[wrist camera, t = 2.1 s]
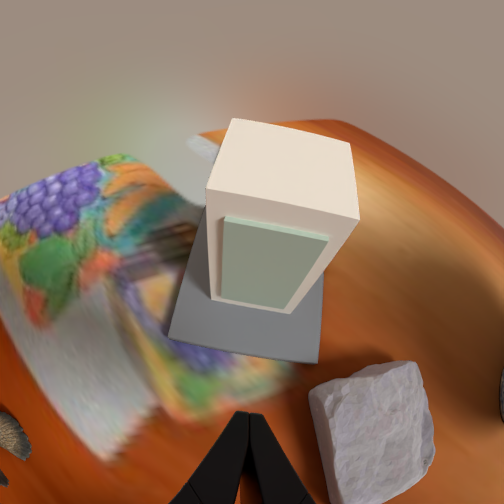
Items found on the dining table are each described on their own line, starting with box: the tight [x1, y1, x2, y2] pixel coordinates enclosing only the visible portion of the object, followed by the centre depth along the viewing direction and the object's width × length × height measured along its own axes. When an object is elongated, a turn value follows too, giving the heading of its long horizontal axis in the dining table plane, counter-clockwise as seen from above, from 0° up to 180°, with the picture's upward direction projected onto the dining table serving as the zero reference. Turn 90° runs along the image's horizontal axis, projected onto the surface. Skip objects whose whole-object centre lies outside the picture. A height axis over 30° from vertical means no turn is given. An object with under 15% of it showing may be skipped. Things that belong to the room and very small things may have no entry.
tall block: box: [206, 118, 360, 314], centre depth 17 cm, size 5×6×12 cm
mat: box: [168, 205, 324, 365], centre depth 25 cm, size 22×11×1 cm, turn 171°
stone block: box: [308, 360, 435, 504], centre depth 16 cm, size 12×5×10 cm
